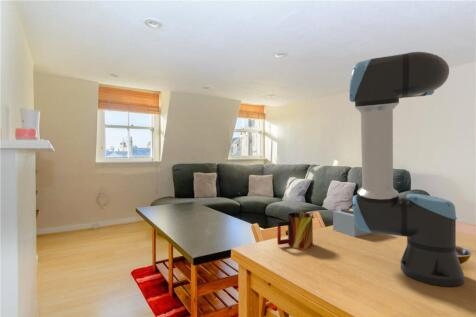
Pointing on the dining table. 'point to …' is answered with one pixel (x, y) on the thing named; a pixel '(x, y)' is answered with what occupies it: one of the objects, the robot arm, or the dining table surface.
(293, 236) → the mug
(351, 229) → the socket block
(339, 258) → the dining table surface
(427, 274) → the robot arm
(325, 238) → the dining table surface
